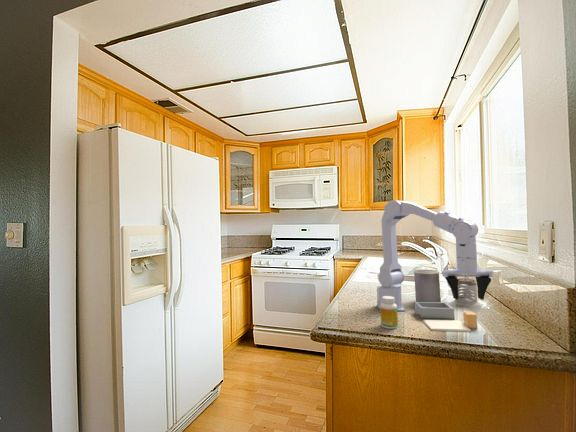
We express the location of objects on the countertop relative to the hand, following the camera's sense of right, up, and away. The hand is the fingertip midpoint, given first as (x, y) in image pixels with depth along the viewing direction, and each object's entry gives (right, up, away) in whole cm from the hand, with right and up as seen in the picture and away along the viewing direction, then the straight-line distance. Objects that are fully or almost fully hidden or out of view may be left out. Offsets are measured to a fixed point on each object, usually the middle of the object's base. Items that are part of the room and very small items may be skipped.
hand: (468, 298), depth 94 cm
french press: (+15, -10, +27) cm, 33 cm away
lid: (-5, -9, +1) cm, 11 cm away
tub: (-5, -10, +11) cm, 16 cm away
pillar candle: (0, -10, +28) cm, 29 cm away
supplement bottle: (-25, -10, +2) cm, 27 cm away
